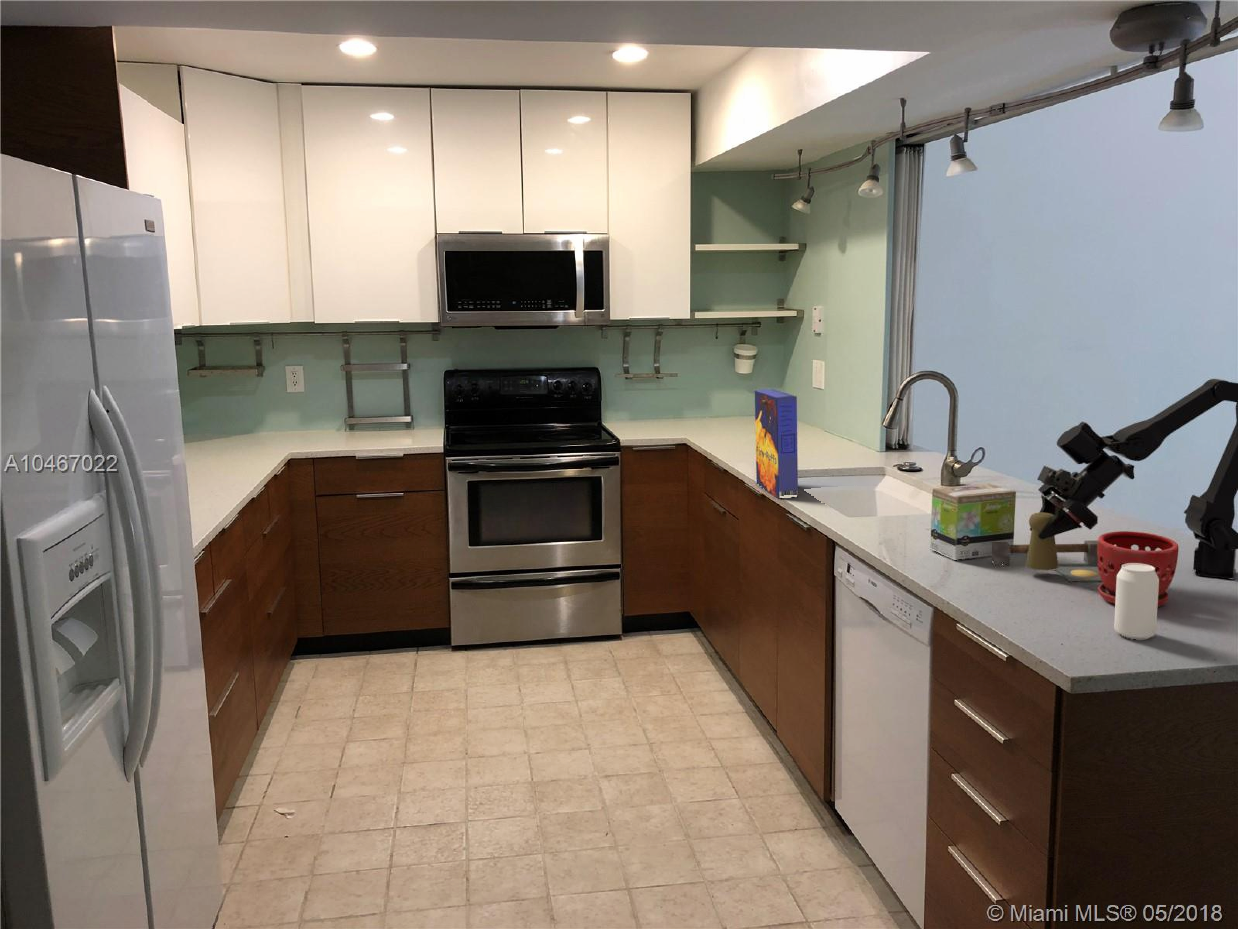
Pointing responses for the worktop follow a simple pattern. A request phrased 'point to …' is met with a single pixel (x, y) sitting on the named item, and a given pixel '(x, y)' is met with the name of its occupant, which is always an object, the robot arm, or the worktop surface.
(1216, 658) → the worktop surface
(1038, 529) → the cork
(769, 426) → the cereal box
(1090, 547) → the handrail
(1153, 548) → the plant pot
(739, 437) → the worktop surface
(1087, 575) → the pad
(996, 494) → the tea box
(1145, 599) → the beverage can
